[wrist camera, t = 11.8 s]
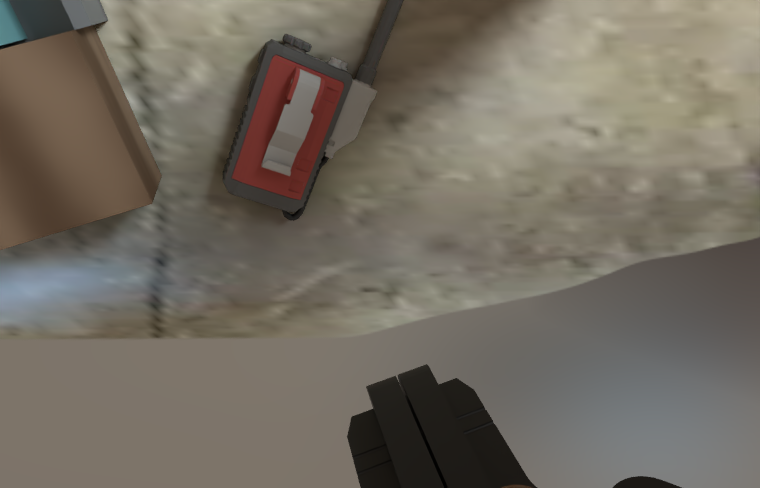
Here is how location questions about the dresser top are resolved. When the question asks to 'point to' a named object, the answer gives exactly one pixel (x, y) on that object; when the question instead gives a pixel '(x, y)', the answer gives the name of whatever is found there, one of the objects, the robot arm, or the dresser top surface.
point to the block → (9, 24)
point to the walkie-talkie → (299, 119)
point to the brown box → (66, 139)
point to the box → (55, 17)
